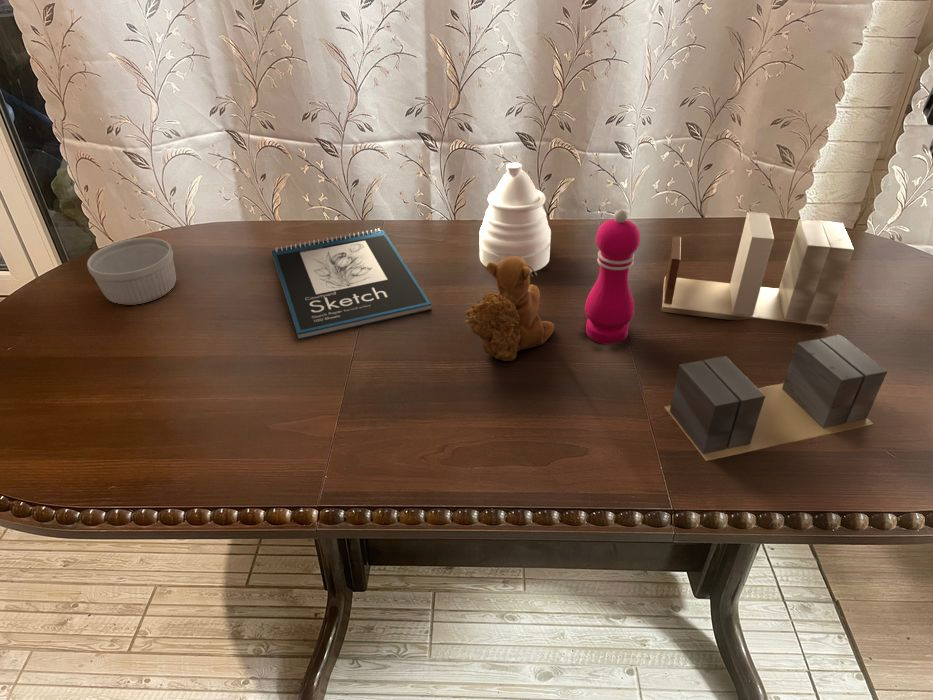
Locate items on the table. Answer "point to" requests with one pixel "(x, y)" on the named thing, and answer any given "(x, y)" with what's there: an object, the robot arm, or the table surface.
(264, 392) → the table surface
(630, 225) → the pepper mill
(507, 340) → the stuffed squirrel
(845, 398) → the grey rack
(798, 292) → the white rack
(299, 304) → the sketchbook
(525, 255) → the honey pot
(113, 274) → the ramekin
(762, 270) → the white book
